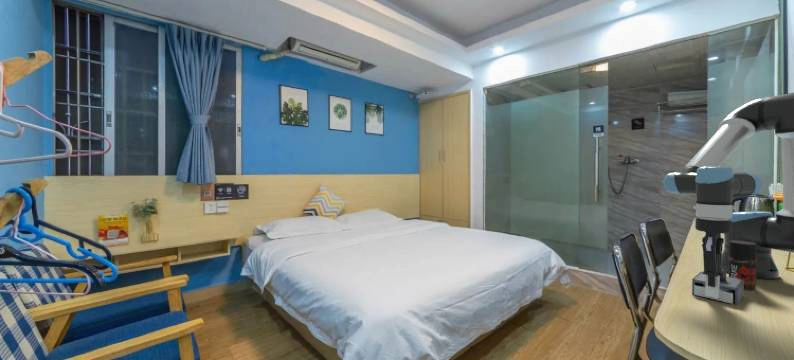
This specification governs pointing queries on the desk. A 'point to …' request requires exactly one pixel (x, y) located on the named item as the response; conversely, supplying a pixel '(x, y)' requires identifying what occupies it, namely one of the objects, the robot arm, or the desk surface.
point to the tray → (722, 297)
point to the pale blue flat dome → (722, 289)
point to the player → (723, 284)
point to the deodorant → (743, 262)
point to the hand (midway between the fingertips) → (712, 296)
